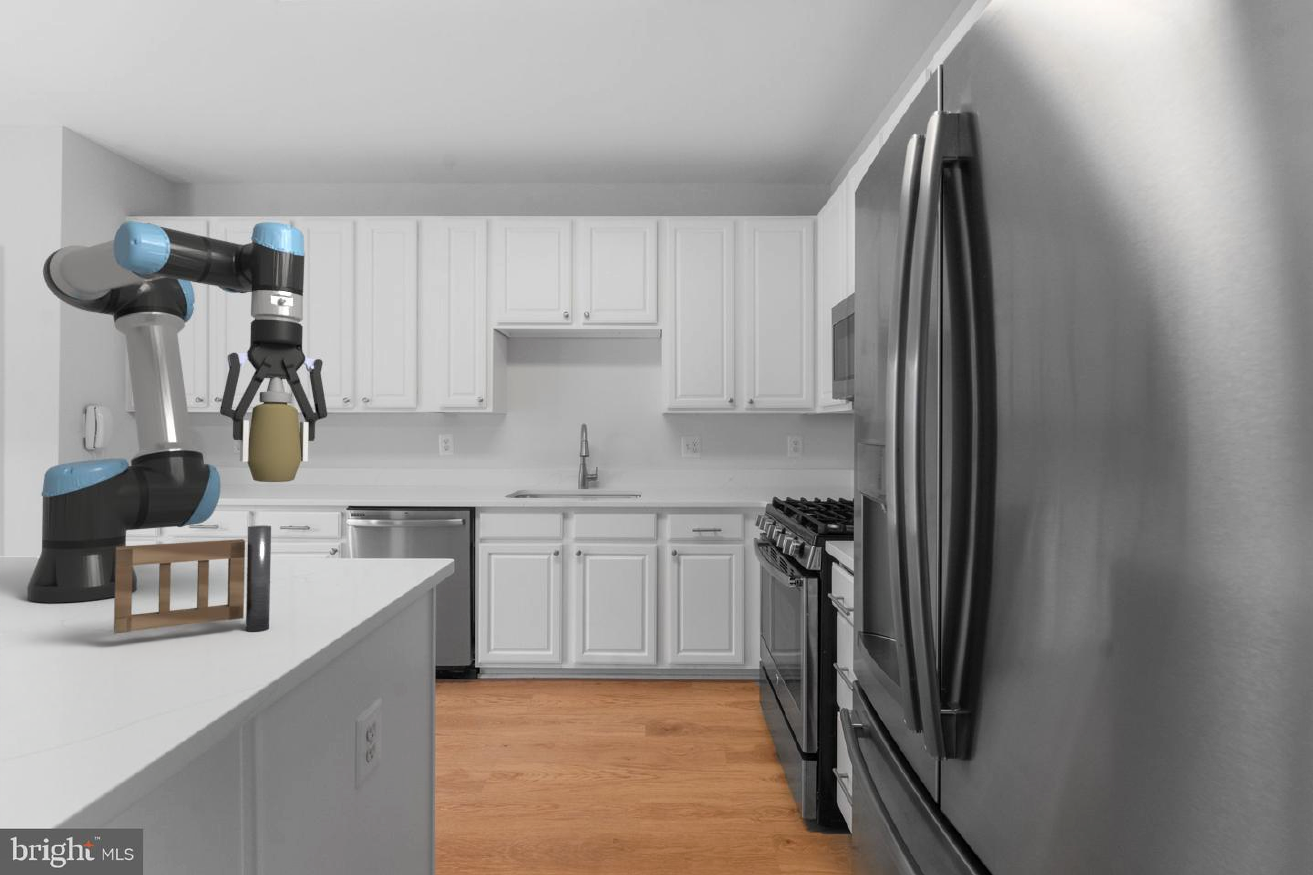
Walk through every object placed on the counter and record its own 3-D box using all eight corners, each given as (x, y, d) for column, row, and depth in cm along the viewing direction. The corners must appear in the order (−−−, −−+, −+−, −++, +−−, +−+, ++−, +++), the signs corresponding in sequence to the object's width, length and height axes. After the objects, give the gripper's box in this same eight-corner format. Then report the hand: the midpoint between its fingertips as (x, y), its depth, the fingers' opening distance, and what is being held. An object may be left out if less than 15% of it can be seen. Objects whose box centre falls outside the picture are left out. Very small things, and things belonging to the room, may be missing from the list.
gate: (113, 630, 99) (115, 546, 99) (241, 616, 108) (242, 539, 108) (114, 633, 98) (116, 548, 98) (243, 618, 107) (245, 540, 107)
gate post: (244, 628, 109) (246, 526, 109) (266, 625, 111) (268, 524, 111) (247, 632, 107) (249, 528, 107) (271, 629, 108) (273, 527, 109)
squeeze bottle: (278, 483, 116) (280, 367, 116) (233, 481, 118) (235, 367, 118) (312, 480, 124) (314, 372, 124) (269, 479, 125) (272, 372, 126)
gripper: (205, 310, 111) (202, 462, 111) (350, 325, 124) (347, 461, 124) (199, 316, 117) (196, 460, 117) (338, 330, 130) (335, 460, 130)
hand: (274, 461), depth 121 cm, fingers closed on squeeze bottle, 8 cm apart
